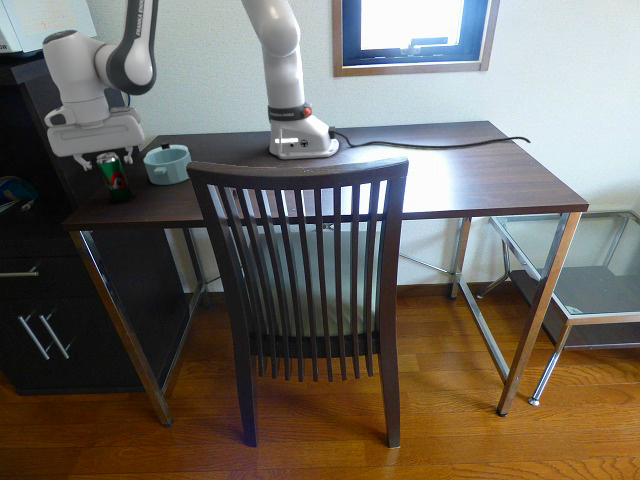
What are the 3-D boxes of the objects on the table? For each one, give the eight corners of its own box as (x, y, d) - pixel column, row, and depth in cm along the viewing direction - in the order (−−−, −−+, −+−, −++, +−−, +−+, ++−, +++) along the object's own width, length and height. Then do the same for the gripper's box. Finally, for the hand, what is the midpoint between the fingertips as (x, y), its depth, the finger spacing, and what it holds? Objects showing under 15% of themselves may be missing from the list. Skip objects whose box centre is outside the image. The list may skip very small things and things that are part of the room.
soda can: (136, 194, 103) (121, 151, 97) (127, 203, 99) (110, 159, 93) (119, 194, 104) (102, 151, 97) (108, 203, 100) (90, 159, 93)
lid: (192, 146, 132) (189, 134, 130) (183, 161, 121) (179, 148, 119) (154, 149, 132) (150, 137, 130) (141, 164, 121) (137, 152, 119)
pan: (199, 162, 120) (195, 143, 117) (186, 187, 105) (180, 166, 102) (159, 165, 120) (154, 146, 117) (141, 190, 105) (133, 170, 102)
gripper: (136, 101, 94) (153, 155, 102) (43, 113, 89) (68, 168, 97) (134, 108, 89) (152, 164, 97) (36, 120, 84) (62, 178, 92)
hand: (109, 166), depth 97 cm, fingers open, 8 cm apart
